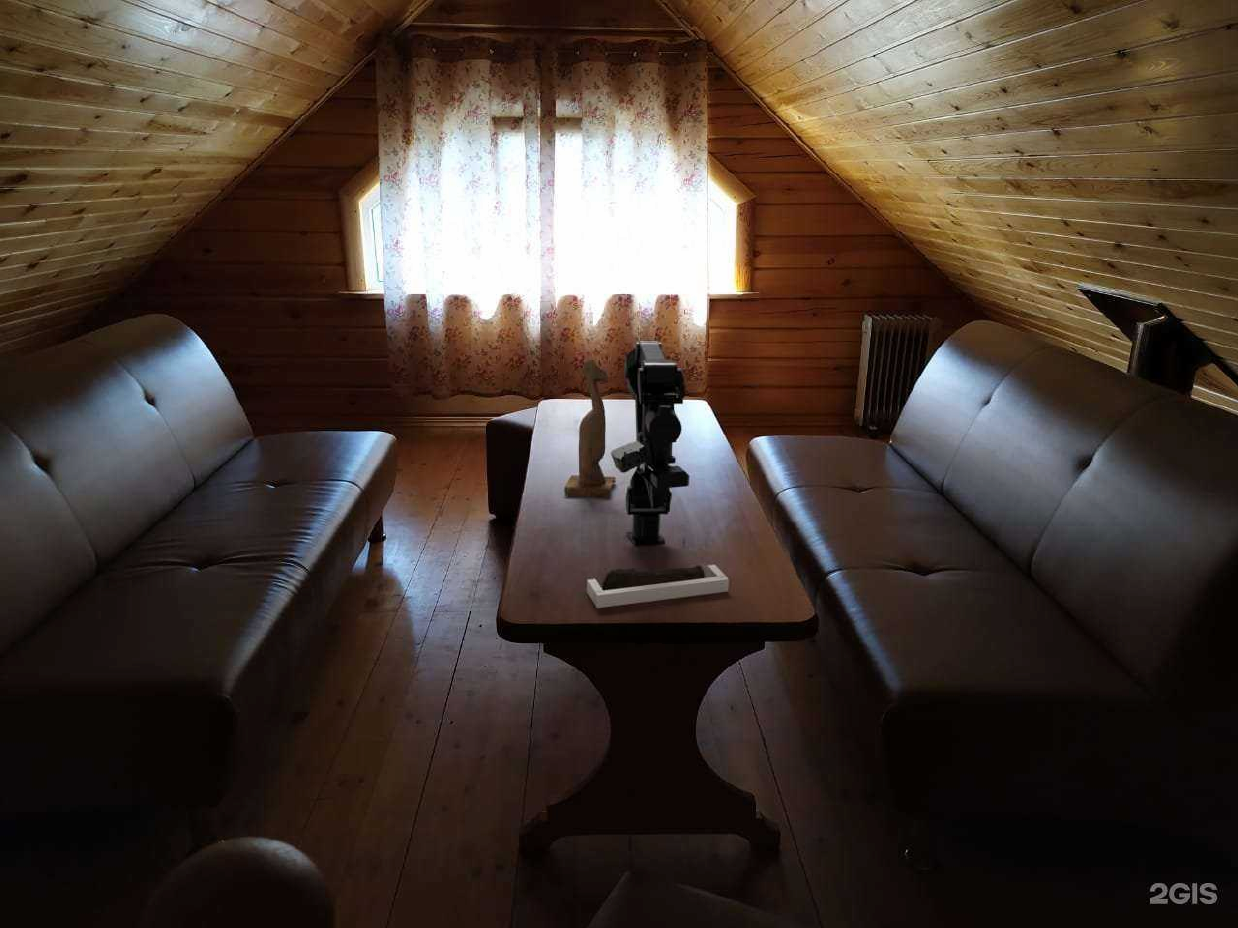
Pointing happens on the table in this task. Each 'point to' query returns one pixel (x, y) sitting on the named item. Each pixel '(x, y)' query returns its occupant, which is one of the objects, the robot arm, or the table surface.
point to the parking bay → (658, 590)
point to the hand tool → (649, 577)
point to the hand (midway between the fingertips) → (655, 508)
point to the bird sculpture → (591, 443)
